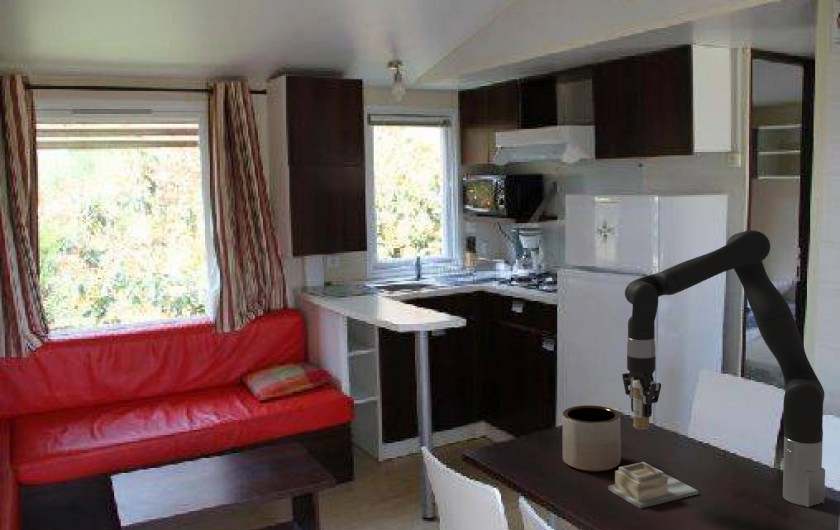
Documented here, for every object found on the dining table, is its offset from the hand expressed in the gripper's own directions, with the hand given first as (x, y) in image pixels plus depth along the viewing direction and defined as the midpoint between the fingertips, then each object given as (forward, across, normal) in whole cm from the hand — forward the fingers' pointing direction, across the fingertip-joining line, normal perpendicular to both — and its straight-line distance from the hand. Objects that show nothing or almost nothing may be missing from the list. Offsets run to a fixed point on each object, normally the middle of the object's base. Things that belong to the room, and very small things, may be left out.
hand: (641, 413), depth 208 cm
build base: (+23, 0, -4) cm, 24 cm away
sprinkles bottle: (+4, 0, 0) cm, 4 cm away
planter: (+23, +26, -2) cm, 35 cm away
